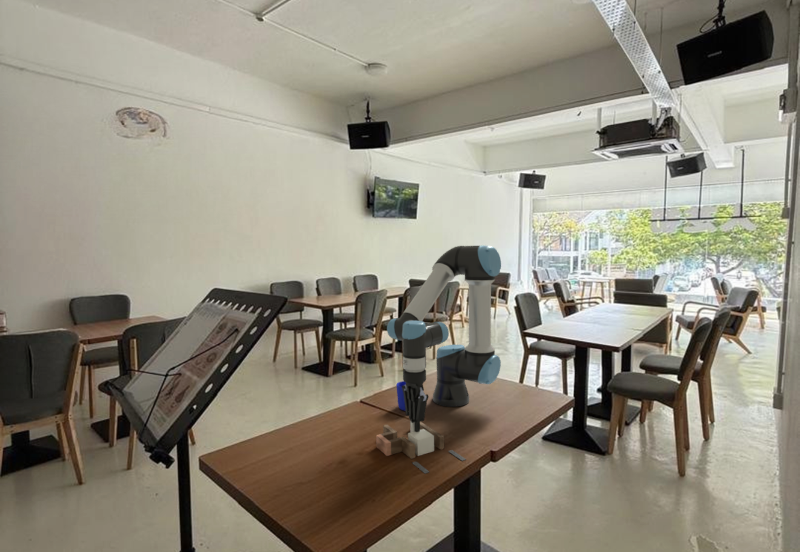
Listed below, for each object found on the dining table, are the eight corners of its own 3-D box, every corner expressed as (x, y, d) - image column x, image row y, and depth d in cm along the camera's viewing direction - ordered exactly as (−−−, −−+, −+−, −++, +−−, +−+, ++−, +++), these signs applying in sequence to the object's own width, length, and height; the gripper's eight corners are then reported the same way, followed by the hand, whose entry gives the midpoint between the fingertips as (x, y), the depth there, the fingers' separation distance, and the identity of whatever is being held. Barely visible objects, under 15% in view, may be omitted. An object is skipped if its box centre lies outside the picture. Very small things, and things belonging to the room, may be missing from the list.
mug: (418, 401, 180) (418, 378, 180) (416, 412, 168) (416, 387, 168) (398, 401, 181) (398, 377, 180) (395, 412, 169) (395, 387, 168)
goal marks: (412, 463, 129) (412, 462, 129) (452, 450, 137) (452, 449, 137) (425, 473, 123) (425, 473, 123) (466, 459, 131) (466, 459, 131)
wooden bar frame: (369, 440, 145) (368, 429, 145) (414, 428, 154) (414, 417, 154) (395, 463, 129) (395, 450, 129) (444, 448, 138) (444, 436, 138)
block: (408, 448, 139) (407, 433, 139) (423, 443, 142) (423, 428, 142) (418, 455, 134) (417, 440, 134) (434, 450, 137) (433, 435, 137)
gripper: (394, 366, 143) (395, 434, 145) (415, 376, 132) (416, 450, 134) (413, 362, 147) (414, 429, 149) (435, 372, 136) (435, 444, 137)
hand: (415, 439), depth 141 cm, fingers closed
